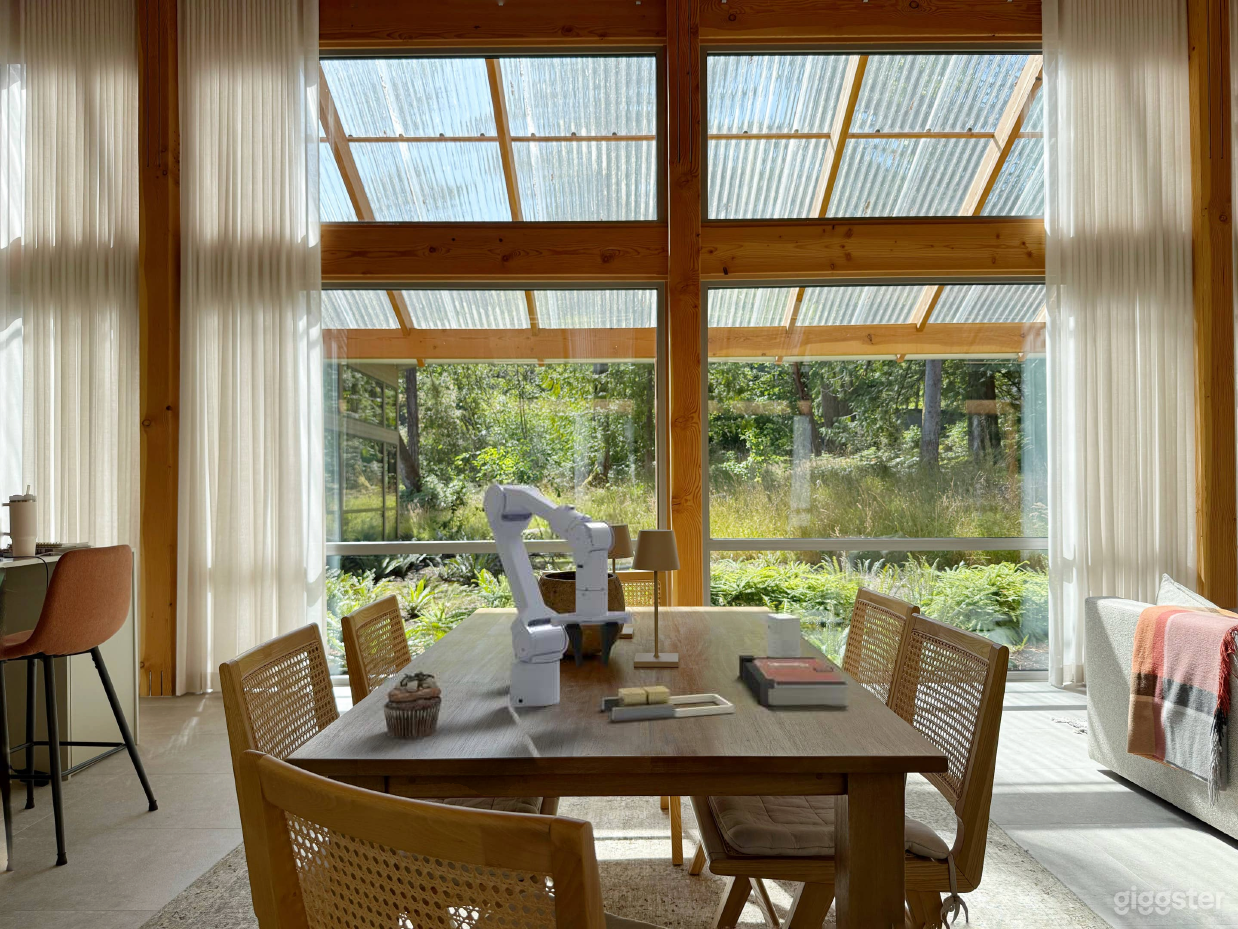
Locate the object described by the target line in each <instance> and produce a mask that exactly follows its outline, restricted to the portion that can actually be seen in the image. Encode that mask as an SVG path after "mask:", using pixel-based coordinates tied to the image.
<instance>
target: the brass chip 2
mask: <svg viewBox="0 0 1238 929" xmlns="http://www.w3.org/2000/svg"><path fill="white" fill-rule="evenodd" d="M641 689H642V690H644V691H645V692H646V705H656V704H669V703H670V697H671V690H670V689H668V688H667V687H666V686H664V685H657V686H656V685H655V686H654V685H653V686H642V687H641Z"/></svg>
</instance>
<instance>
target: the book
mask: <svg viewBox="0 0 1238 929" xmlns="http://www.w3.org/2000/svg"><path fill="white" fill-rule="evenodd" d="M738 660H739V661H738V667H739V668H738V670H739V671H738V672H739V673H738V676H739V677H740V679H741V680H744V681H745V683H746V684H747V685H748V687H749V689H750V690H751V691H752V693H753V694H754V696H755V697H756V699H757V704H758V705H759V706H760V707H762V708H769V707H771V708H773V707H775V708H785V707H786V708H787V707H788V708H790V707H791V708H794V707H795V708H797V707H798V708H799V707H800V708H801V707H802V706H803V708H804V706H805V707H806V706H808V707H809V706H835V707H849V704H848V703H847V702H846V700H847V699H846V696H847V695H846V689H849V685H848V683H847V682H845V680H843V679H842V678H840V677H839V676H838V675H836V673H834V668H833V667H832V666H827V665H824V664H823V663H822V662H821V661H819V660H818V659H817V658H816V657H815V656H813V657H812V656H807V657H804V656H801V657H768V656H766V657H763V656H762V657H758V656H757V657H755V656H754V654H753V655H752V654H748V655H747V654H745V655H744V654H742V655H741V654H740V655H739V656H738ZM806 708H807V707H806Z"/></svg>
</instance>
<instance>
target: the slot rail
mask: <svg viewBox="0 0 1238 929" xmlns="http://www.w3.org/2000/svg"><path fill="white" fill-rule="evenodd" d="M601 700H602V702H601V703H602V710H603V711H604V712H605V713H606V714H607V716H609V718H610V719H612V721H613V722H623V721H635V720H638V721H639V720H648V719H660V718H661V719H662V718H673V717H675V704H672V703H669V704H656V705H642V706H629V707H619V696H611V697H602V699H601Z"/></svg>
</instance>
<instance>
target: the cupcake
mask: <svg viewBox="0 0 1238 929" xmlns="http://www.w3.org/2000/svg"><path fill="white" fill-rule="evenodd" d="M437 684H438V683H437V680H436V679H435V676H434V675H432V674H431V673H430V674H429V673H426V674H425V673H423V671H420V670H419V671H418V672H416V673H414V675H410V674H408V673H404V676H403V677H402V678H401V679H400V680H399V681H397V682H396V685H395V686H394V688H392V689H391V690H390V691H389V692H388V693H387V698H388V701H387V702H386V703H384V704H383V706H382V707H383V708H382V709H383V712H384V718H385V723H386V729H387V735H388V736H389V738H392V739H397V740H417V739H418V740H419V739H422V738H426V737H428V736H429V737H430V736H432V735H434V734H435V733H436V730H437V726H438V721H439V716H440V711H441V705H442V698H441V695H442V689H441V688H440V687H439V686H438V685H437ZM433 733H434V734H433Z"/></svg>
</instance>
